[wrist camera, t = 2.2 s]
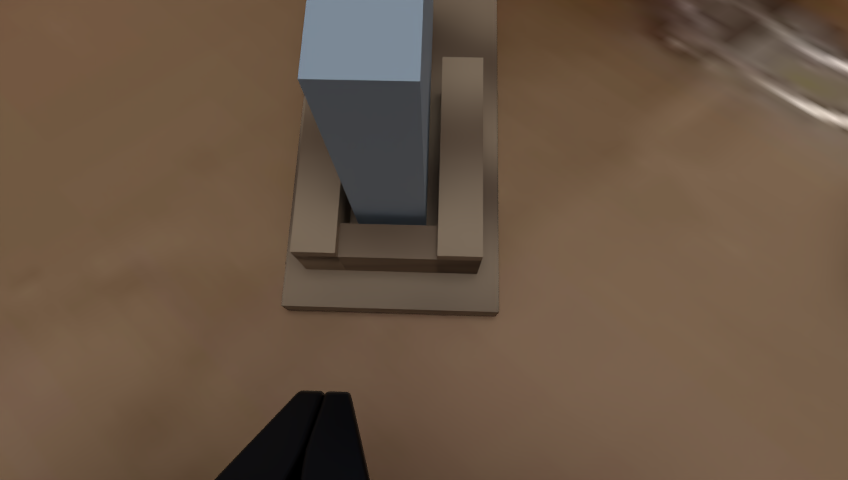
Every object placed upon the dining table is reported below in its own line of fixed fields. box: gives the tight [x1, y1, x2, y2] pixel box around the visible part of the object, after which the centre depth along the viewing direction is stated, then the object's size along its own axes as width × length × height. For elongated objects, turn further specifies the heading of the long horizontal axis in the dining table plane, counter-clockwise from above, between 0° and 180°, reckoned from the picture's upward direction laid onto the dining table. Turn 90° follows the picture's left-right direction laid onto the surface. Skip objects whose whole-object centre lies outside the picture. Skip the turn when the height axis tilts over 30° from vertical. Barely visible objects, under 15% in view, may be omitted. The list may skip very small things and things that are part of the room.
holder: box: [281, 0, 499, 316], centre depth 22 cm, size 22×8×4 cm, turn 178°
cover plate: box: [298, 0, 433, 225], centre depth 17 cm, size 10×2×10 cm, turn 178°
